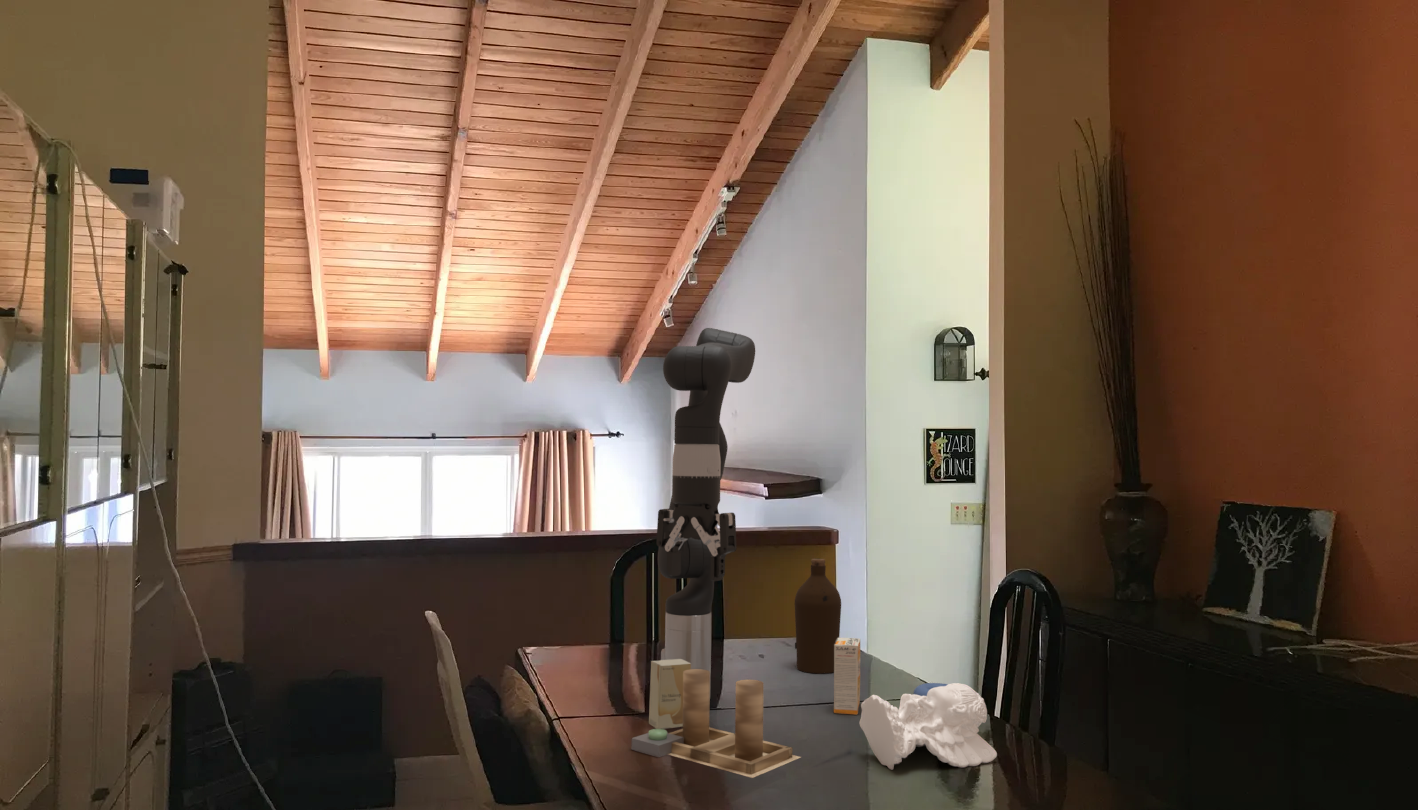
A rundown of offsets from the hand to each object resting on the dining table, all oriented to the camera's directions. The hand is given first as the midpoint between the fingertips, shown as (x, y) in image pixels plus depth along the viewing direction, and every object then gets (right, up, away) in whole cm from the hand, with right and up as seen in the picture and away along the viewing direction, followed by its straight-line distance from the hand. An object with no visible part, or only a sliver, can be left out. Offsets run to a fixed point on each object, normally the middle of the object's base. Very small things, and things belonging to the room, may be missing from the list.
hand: (695, 577), depth 153 cm
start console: (-6, -30, +7) cm, 32 cm away
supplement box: (+29, -32, +38) cm, 58 cm away
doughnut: (+48, -33, +41) cm, 71 cm away
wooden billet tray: (+4, -30, +6) cm, 31 cm away
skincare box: (-5, -31, +22) cm, 38 cm away
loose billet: (+8, -29, +2) cm, 30 cm away
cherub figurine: (+38, -31, +9) cm, 50 cm away
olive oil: (+27, -34, +72) cm, 84 cm away
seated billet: (0, -29, +9) cm, 31 cm away
